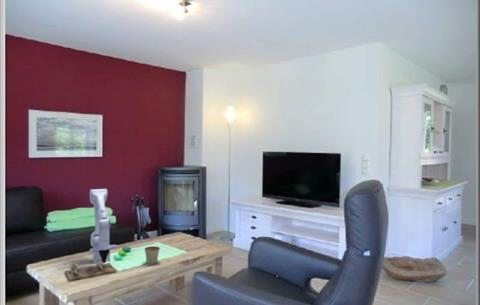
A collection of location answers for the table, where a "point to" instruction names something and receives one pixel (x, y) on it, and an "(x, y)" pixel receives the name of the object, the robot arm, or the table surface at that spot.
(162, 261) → the table surface
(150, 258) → the flower pot
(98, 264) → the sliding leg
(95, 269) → the gauge board
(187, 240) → the table surface
